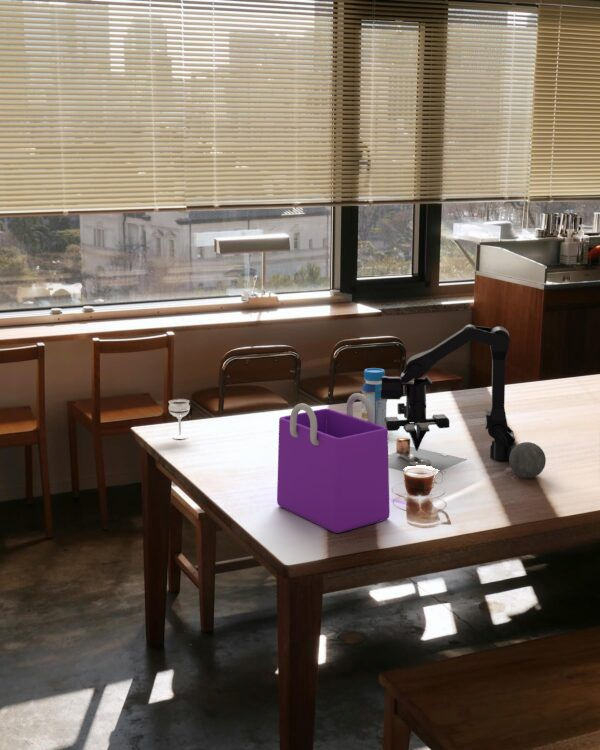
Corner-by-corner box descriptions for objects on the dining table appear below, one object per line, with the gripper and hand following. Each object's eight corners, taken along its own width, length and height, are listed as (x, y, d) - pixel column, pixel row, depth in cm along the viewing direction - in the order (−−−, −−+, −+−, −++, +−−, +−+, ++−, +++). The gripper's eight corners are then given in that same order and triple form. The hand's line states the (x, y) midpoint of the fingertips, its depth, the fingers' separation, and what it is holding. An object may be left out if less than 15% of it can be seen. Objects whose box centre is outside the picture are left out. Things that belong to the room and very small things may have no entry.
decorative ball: (518, 484, 281) (520, 449, 279) (502, 473, 290) (503, 439, 288) (551, 481, 283) (553, 446, 281) (534, 470, 293) (535, 436, 291)
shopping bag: (402, 514, 258) (404, 399, 252) (347, 539, 243) (347, 416, 236) (319, 490, 277) (318, 382, 270) (262, 511, 261) (260, 397, 255)
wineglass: (192, 435, 330) (191, 399, 327) (188, 441, 323) (187, 404, 321) (172, 434, 331) (170, 398, 328) (167, 440, 324) (166, 403, 321)
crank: (434, 466, 293) (435, 449, 291) (416, 469, 290) (416, 452, 289) (408, 452, 306) (408, 436, 305) (390, 455, 304) (391, 438, 303)
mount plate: (466, 462, 300) (466, 458, 300) (426, 480, 285) (426, 476, 284) (410, 449, 313) (410, 446, 313) (369, 466, 297) (369, 462, 297)
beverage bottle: (387, 433, 331) (388, 372, 326) (361, 433, 331) (361, 372, 327) (386, 426, 339) (386, 367, 335) (360, 426, 339) (360, 367, 335)
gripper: (441, 391, 308) (441, 441, 312) (380, 394, 307) (380, 444, 310) (449, 400, 298) (449, 451, 301) (386, 403, 296) (387, 455, 300)
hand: (416, 450), depth 303 cm, fingers closed
